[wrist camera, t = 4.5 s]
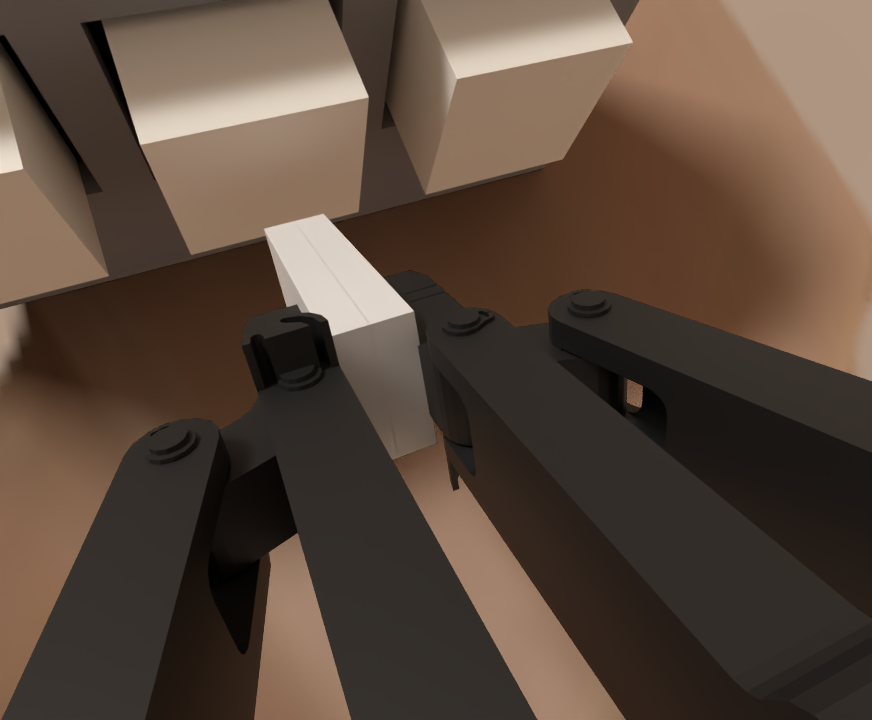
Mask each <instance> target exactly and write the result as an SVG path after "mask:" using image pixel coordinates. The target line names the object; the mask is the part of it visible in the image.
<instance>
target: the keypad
mask: <svg viewBox="0 0 872 720" xmlns="http://www.w3.org/2000/svg"><path fill="white" fill-rule="evenodd" d="M220 1H226V0H0V42H1V44H2V45H3V47H4V48H5V50H6V51H7V53H8V54H9V56H10V58H11V59H12V61H13V62H14V64H15V65H16V67H17V68H18V70H19V72H20V73H21V75H22V76H23V78H24V79H25V81H26V82H27V84H28V85H29V87H30V89H31V90H32V92H33V93H34V95H35V96H36V98H37V99H38V101H39V103H40V104H41V106H42V107H43V109H44V110H45V112H46V113H47V115H48V116H49V118H50V120H51V121H52V123H53V124H54V126H55V127H56V129H57V130H58V132H59V134H60V135H61V137H62V138H63V140H64V141H65V143H66V144H67V146H68V147H69V149H70V151H71V152H72V154H73V155H74V157H75V158H76V161H77V164H78V168H79V171H80V175H81V179H82V182H83V186H84V189H85V193H86V196H87V200H88V203H89V207H90V210H91V214H92V217H93V221H94V225H95V228H96V232H97V235H98V239H99V242H100V246H101V249H102V253H103V256H104V260H105V263H106V267H107V271H108V274H109V276H107V277H104V278H100V279H96V280H92V281H88V282H84V283H80V284H76V285H73V286H69V287H65V288H61V289H57V290H53V291H49V292H45V293H41V294H38V295H34V296H30V297H26V298H22V299H18V300H14V301H10V302H6V303H3V304H0V309H3V308H7V307H10V306H14V305H18V304H22V303H26V302H30V301H34V300H37V299H41V298H45V297H49V296H53V295H57V294H61V293H64V292H68V291H72V290H76V289H80V288H84V287H88V286H91V285H95V284H99V283H103V282H107V281H111V280H115V279H118V278H122V277H126V276H130V275H134V274H138V273H142V272H146V271H149V270H153V269H157V268H161V267H165V266H169V265H173V264H176V263H180V262H184V261H188V260H192V259H196V258H200V257H203V256H207V255H211V254H215V253H219V252H223V251H227V250H230V249H234V248H238V247H242V246H246V245H250V244H254V243H257V242H261V241H265V240H267V238H266V236H263V237H259V238H255V239H251V240H247V241H244V242H240V243H236V244H232V245H228V246H224V247H220V248H216V249H212V250H209V251H205V252H201V253H197V254H193V255H191V253H190V251H189V249H188V247H187V245H186V243H185V240H184V238H183V236H182V234H181V232H180V230H179V227H178V225H177V223H176V221H175V219H174V217H173V215H172V212H171V210H170V208H169V206H168V204H167V202H166V199H165V197H164V195H163V193H162V191H161V189H160V187H159V184H158V182H157V180H156V178H155V176H154V174H153V171H152V169H151V167H150V165H149V163H148V161H147V159H146V156H145V154H144V152H143V150H142V148H141V146H140V143H139V140H138V136H137V133H136V130H135V127H134V124H133V120H132V117H131V114H130V111H129V108H128V104H127V101H126V98H125V95H124V92H123V88H122V85H121V82H120V79H119V75H118V72H117V69H116V66H115V63H114V59H113V56H112V53H111V50H110V47H109V43H108V40H107V37H106V34H105V31H104V27H103V24H102V21H101V20H103V19H110V18H116V17H123V16H129V15H136V14H142V13H148V12H155V11H161V10H168V9H174V8H181V7H187V6H194V5H200V4H207V3H213V2H220ZM328 1H329V3H330V6H331V8H332V11H333V13H334V15H335V18H336V20H337V23H338V25H339V27H340V30H341V32H342V34H343V37H344V39H345V42H346V44H347V46H348V49H349V51H350V54H351V56H352V58H353V61H354V63H355V66H356V68H357V70H358V73H359V75H360V77H361V80H362V82H363V85H364V87H365V89H366V92H367V94H368V97H369V101H368V112H367V124H366V135H365V146H364V157H363V168H362V179H361V190H360V202H359V212H356V213H352V214H348V215H345V216H341V217H337V218H333V219H329V220H330V221H331V222H332V223H335V222H338V221H342V220H346V219H350V218H354V217H358V216H362V215H365V214H369V213H373V212H377V211H381V210H385V209H389V208H392V207H396V206H400V205H404V204H408V203H412V202H416V201H419V200H423V199H427V198H431V197H435V196H439V195H443V194H446V193H450V192H454V191H458V190H462V189H466V188H470V187H473V186H477V185H481V184H485V183H489V182H493V181H497V180H500V179H504V178H508V177H512V176H516V175H520V174H524V173H527V172H531V171H535V170H539V169H543V168H545V166H546V164H543V165H539V166H535V167H531V168H527V169H523V170H520V171H516V172H512V173H508V174H504V175H500V176H496V177H492V178H488V179H485V180H481V181H477V182H473V183H469V184H465V185H461V186H457V187H453V188H450V189H446V190H442V191H438V192H434V193H430V194H426V195H425V193H424V190H423V188H422V185H421V183H420V181H419V178H418V176H417V174H416V171H415V169H414V167H413V164H412V162H411V160H410V157H409V155H408V153H407V150H406V148H405V145H404V143H403V141H402V138H401V136H400V134H399V131H398V129H397V127H396V124H395V122H394V120H393V117H392V115H391V113H390V110H389V108H388V105H387V103H386V101H385V96H386V88H387V80H388V72H389V64H390V56H391V49H392V41H393V33H394V25H395V17H396V9H397V1H398V0H328ZM610 1H611V3H612V5H613V7H614V9H615V11H616V12H617V14H618V16H619V18H620V20H621V22H622V23H623V25H624V26H625V25H626V23H627V21H628V19H629V18H630V16H631V14H632V12H633V11H634V9H635V7H636V5H637V3H638V2H639V0H610Z"/></svg>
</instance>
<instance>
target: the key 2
mask: <svg viewBox="0 0 872 720" xmlns="http://www.w3.org/2000/svg"><path fill="white" fill-rule="evenodd" d="M632 43H633V42H632V40H631V38H630V36H629V34H628V33H627V31H626V29H625V27H624V25H623V23H622V22H621V20H620V18H619V16H618V14H617V12H616V11H615V9H614V7H613V5H612V3H611V1H610V0H398V1H397V9H396V17H395V25H394V33H393V41H392V49H391V56H390V64H389V72H388V80H387V88H386V96H385V101H386V103H387V105H388V108H389V110H390V113H391V115H392V117H393V120H394V122H395V124H396V127H397V129H398V131H399V134H400V136H401V138H402V141H403V143H404V145H405V148H406V150H407V153H408V155H409V157H410V160H411V162H412V164H413V167H414V169H415V171H416V174H417V176H418V178H419V181H420V183H421V185H422V188H423V190H424V193H425V195H426V194H430V193H434V192H438V191H442V190H446V189H450V188H453V187H457V186H461V185H465V184H469V183H473V182H477V181H481V180H485V179H488V178H492V177H496V176H500V175H504V174H508V173H512V172H516V171H520V170H523V169H527V168H531V167H535V166H539V165H543V164H547V163H551V162H555V161H558V160H562V159H563V158H564V157H565V155H566V153H567V152H568V150H569V148H570V147H571V145H572V143H573V142H574V140H575V138H576V137H577V135H578V133H579V132H580V130H581V128H582V127H583V125H584V123H585V122H586V120H587V118H588V117H589V115H590V113H591V112H592V110H593V108H594V107H595V105H596V103H597V102H598V100H599V98H600V97H601V95H602V93H603V92H604V90H605V88H606V87H607V85H608V83H609V82H610V80H611V78H612V77H613V75H614V73H615V72H616V70H617V68H618V67H619V65H620V63H621V62H622V60H623V58H624V57H625V55H626V53H627V52H628V50H629V48H630V47H631V45H632Z"/></svg>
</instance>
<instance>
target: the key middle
mask: <svg viewBox="0 0 872 720" xmlns="http://www.w3.org/2000/svg"><path fill="white" fill-rule="evenodd" d="M101 21H102V24H103V27H104V31H105V34H106V37H107V40H108V43H109V47H110V50H111V53H112V56H113V59H114V63H115V66H116V69H117V72H118V75H119V79H120V82H121V85H122V88H123V92H124V95H125V98H126V101H127V104H128V108H129V111H130V114H131V117H132V120H133V124H134V127H135V130H136V133H137V136H138V140H139V143H140V146H141V148H142V150H143V152H144V154H145V156H146V159H147V161H148V163H149V165H150V167H151V169H152V171H153V174H154V176H155V178H156V180H157V182H158V184H159V187H160V189H161V191H162V193H163V195H164V197H165V199H166V202H167V204H168V206H169V208H170V210H171V212H172V215H173V217H174V219H175V221H176V223H177V225H178V227H179V230H180V232H181V234H182V236H183V238H184V240H185V243H186V245H187V247H188V249H189V251H190V253H191V255H193V254H197V253H201V252H205V251H209V250H212V249H216V248H220V247H224V246H228V245H232V244H236V243H240V242H244V241H247V240H251V239H255V238H259V237H263V236H266V234H265V231H264V229H265V228H269V227H273V226H277V225H281V224H285V223H289V222H293V221H297V220H301V219H305V218H309V217H313V216H317V215H321V214H324V215H325V216H326V217H327V218H328V219H333V218H337V217H341V216H345V215H348V214H352V213H356V212H359V202H360V190H361V179H362V168H363V157H364V146H365V135H366V124H367V112H368V101H369V97H368V94H367V92H366V89H365V87H364V85H363V82H362V80H361V77H360V75H359V73H358V70H357V68H356V66H355V63H354V61H353V58H352V56H351V54H350V51H349V49H348V46H347V44H346V42H345V39H344V37H343V34H342V32H341V30H340V27H339V25H338V23H337V20H336V18H335V15H334V13H333V11H332V8H331V6H330V3H329V1H328V0H226V1H220V2H213V3H207V4H200V5H194V6H187V7H181V8H174V9H168V10H161V11H155V12H148V13H142V14H136V15H129V16H123V17H116V18H110V19H103V20H101Z"/></svg>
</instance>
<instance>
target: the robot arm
mask: <svg viewBox="0 0 872 720" xmlns="http://www.w3.org/2000/svg"><path fill="white" fill-rule="evenodd" d="M264 231H265V234H266V238H267V241H268V245H269V248H270V251H271V255H272V258H273V262H274V265H275V268H276V272H277V275H278V279H279V282H280V286H281V289H282V292H283V296H284V299H285V303H286V306H287V307H286V308H282V309H279V310H275V311H272V312H268V313H265V314H261V315H258V316H254V317H251V318H249V320H248V321H247V323H246V325H245V327H244V329H243V330H242V332H243V335H244V337H243V341H242V348H243V351H244V354H245V357H246V360H247V362H248V365H249V368H250V371H251V374H252V377H253V380H254V383H255V385H256V388H257V391H258V395H259V396H258V399H257V401H256V403H255V404H254V406H253V407H252V408H251V409H250V411H248V412H247V413H246V414H245V415H244V416H243V417H241V418H240V419H238V420H237V421H235V422H233V423H232V424H230V425H228V426H227V427H225V428H223V429H221V430H219V428H218V427H217V426H216V425H215V424H214V423H213V422H211V421H209V420H204V419H199V418H194V419H183V420H179V421H175V422H172V423H166V424H164V425H161V426H159V427H158V428H157V429H156V428H155V429H153V430H151V431H149V432H148V433H147V434H145V435H144V436H143V437H142V438H140V439H139V440H138V441H136V442H135V443H134V444H133V445H132V446H131V447H130V449H129V450H128V451H127V453H126V454H125V455H124V457H123V459H122V461H121V463H120V466H119V468H118V470H117V472H116V474H115V476H114V478H113V481H112V483H111V485H110V487H109V489H108V491H107V494H106V496H105V498H104V500H103V502H102V504H101V506H100V509H99V511H98V513H97V515H96V517H95V519H94V522H93V524H92V526H91V528H90V530H89V532H88V534H87V537H86V539H85V541H84V543H83V545H82V547H81V550H80V552H79V554H78V556H77V558H76V560H75V562H74V565H73V567H72V569H71V571H70V573H69V575H68V578H67V580H66V582H65V584H64V586H63V588H62V590H61V593H60V595H59V597H58V599H57V601H56V603H55V606H54V608H53V610H52V612H51V614H50V616H49V618H48V621H47V623H46V625H45V627H44V629H43V631H42V634H41V636H40V638H39V640H38V642H37V644H36V646H35V649H34V651H33V653H32V655H31V657H30V659H29V661H28V664H27V666H26V668H25V670H24V672H23V674H22V677H21V679H20V681H19V683H18V685H17V687H16V689H15V692H14V694H13V696H12V698H11V700H10V702H9V705H8V707H7V709H6V711H5V713H4V715H3V717H2V720H254V714H255V705H256V696H257V687H258V678H259V669H260V659H261V650H262V641H263V632H264V623H265V614H266V605H267V595H268V586H269V577H270V568H271V563H270V557H269V553H268V552H270V551H271V550H273V549H274V548H276V547H277V546H279V545H280V544H282V543H283V542H285V541H286V540H288V539H289V538H291V537H292V536H293V535H295V534H296V533H298V534H299V538H300V541H301V545H302V548H303V552H304V555H305V559H306V562H307V566H308V569H309V573H310V576H311V580H312V583H313V587H314V590H315V594H316V597H317V601H318V604H319V608H320V611H321V615H322V618H323V622H324V625H325V629H326V632H327V636H328V639H329V643H330V646H331V650H332V653H333V657H334V660H335V664H336V667H337V671H338V674H339V678H340V681H341V685H342V688H343V692H344V695H345V699H346V702H347V706H348V709H349V713H350V716H351V720H537V718H536V716H535V715H534V713H533V711H532V709H531V707H530V706H529V704H528V702H527V700H526V699H525V697H524V695H523V693H522V691H521V690H520V688H519V686H518V684H517V682H516V681H515V679H514V677H513V675H512V673H511V672H510V670H509V668H508V666H507V664H506V663H505V661H504V659H503V657H502V656H501V654H500V652H499V650H498V648H497V647H496V645H495V643H494V641H493V639H492V638H491V636H490V634H489V632H488V630H487V629H486V627H485V625H484V623H483V621H482V620H481V618H480V616H479V614H478V613H477V611H476V609H475V607H474V605H473V604H472V602H471V600H470V598H469V596H468V595H467V593H466V591H465V589H464V587H463V586H462V584H461V582H460V580H459V578H458V577H457V575H456V573H455V571H454V570H453V568H452V566H451V564H450V562H449V561H448V559H447V557H446V555H445V553H444V552H443V550H442V548H441V546H440V544H439V543H438V541H437V539H436V537H435V535H434V534H433V532H432V530H431V528H430V527H429V525H428V523H427V521H426V519H425V518H424V516H423V514H422V512H421V510H420V509H419V507H418V505H417V503H416V501H415V500H414V498H413V496H412V494H411V492H410V491H409V489H408V487H407V485H406V484H405V482H404V480H403V478H402V476H401V475H400V473H399V471H398V469H397V467H396V466H395V464H394V462H393V459H396V458H399V457H401V456H404V455H407V454H409V453H412V452H415V451H418V450H420V449H423V448H426V447H428V446H431V445H434V444H437V440H436V434H435V429H434V423H433V420H434V421H435V423H436V424H437V425H438V427H439V428H440V430H441V431H442V432H443V438H444V444H445V450H446V456H447V462H448V468H449V474H450V480H451V484H452V488H453V491H455V490H457V489H459V485H458V477H459V475H460V477H461V478H462V480H463V481H464V483H465V484H466V485H467V487H468V488H469V490H470V491H471V493H472V494H473V496H474V497H475V499H476V500H477V502H478V503H479V505H480V506H481V508H482V509H483V510H484V512H485V513H486V515H487V516H488V518H489V519H490V521H491V522H492V524H493V525H494V527H495V528H496V530H497V531H498V532H499V534H500V535H501V537H502V538H503V540H504V541H505V543H506V544H507V546H508V547H509V549H510V550H511V552H512V553H513V555H514V556H515V557H516V559H517V560H518V562H519V563H520V565H521V566H522V568H523V569H524V571H525V572H526V574H527V575H528V577H529V578H530V579H531V581H532V582H533V584H534V585H535V587H536V588H537V590H538V591H539V593H540V594H541V596H542V597H543V599H544V600H545V602H546V603H547V604H548V606H549V607H550V609H551V610H552V612H553V613H554V615H555V616H556V618H557V619H558V621H559V622H560V624H561V625H562V626H563V628H564V629H565V631H566V632H567V634H568V635H569V637H570V638H571V640H572V641H573V643H574V644H575V646H576V647H577V649H578V650H579V651H580V653H581V654H582V656H583V657H584V659H585V660H586V662H587V663H588V665H589V666H590V668H591V669H592V671H593V672H594V673H595V675H596V676H597V678H598V679H599V681H600V682H601V684H602V685H603V687H604V688H605V690H606V691H607V693H608V694H609V695H610V697H611V698H612V700H613V701H614V703H615V704H616V706H617V707H618V709H619V710H620V712H621V713H622V715H623V716H624V718H625V719H626V720H872V381H869V380H866V379H863V378H860V377H857V376H854V375H851V374H849V373H846V372H843V371H840V370H837V369H834V368H831V367H828V366H825V365H822V364H819V363H816V362H813V361H810V360H808V359H805V358H802V357H799V356H796V355H793V354H790V353H787V352H784V351H781V350H778V349H775V348H772V347H769V346H767V345H764V344H761V343H758V342H755V341H752V340H749V339H746V338H743V337H740V336H737V335H734V334H731V333H728V332H726V331H723V330H720V329H717V328H714V327H711V326H708V325H705V324H702V323H699V322H696V321H693V320H690V319H688V318H685V317H682V316H679V315H676V314H673V313H670V312H667V311H664V310H661V309H658V308H655V307H652V306H649V305H647V304H644V303H641V302H638V301H635V300H632V299H629V298H626V297H623V296H620V295H617V294H614V293H609V292H605V291H593V290H590V289H585V290H580V291H579V290H577V291H573V292H570V293H568V294H566V295H563V296H560V297H558V298H557V299H555V300H554V301H553V302H551V304H550V306H549V309H548V316H549V323H544V324H536V325H529V326H521V327H514V326H512V325H511V324H510V323H509V322H508V321H506V320H505V319H504V318H503V317H502V316H500V315H499V314H497V313H495V312H493V311H491V310H488V309H482V308H464V307H462V306H461V305H460V304H459V303H458V302H457V301H456V300H455V299H453V298H452V297H451V296H450V295H449V294H448V293H445V291H444V290H443V289H442V288H441V287H440V286H437V284H436V283H435V282H434V281H433V280H432V279H431V278H430V277H429V276H427V275H425V274H421V273H418V272H414V271H411V270H409V271H405V272H402V273H398V274H395V275H391V276H388V277H384V278H383V277H382V276H381V275H380V274H379V273H378V272H377V271H376V270H375V269H374V268H373V267H372V265H371V264H370V263H369V262H368V261H367V260H366V259H365V258H364V257H363V256H362V255H361V254H360V253H359V251H358V250H357V249H356V248H355V247H354V246H353V245H352V244H351V243H350V242H349V241H348V240H347V239H346V238H345V236H344V235H343V234H342V233H341V232H340V231H339V230H338V229H337V228H336V227H335V226H334V225H333V224H332V222H331V221H330V220H329V219H328V218H327V217H326V216H325V215H324V214H321V215H317V216H313V217H309V218H305V219H301V220H297V221H293V222H289V223H285V224H281V225H277V226H273V227H269V228H265V229H264ZM627 379H629V380H631V381H633V382H636V383H638V384H640V385H642V386H643V398H642V406H641V407H640V408H639V407H636V406H633V405H631V404H629V403H627Z"/></svg>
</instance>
